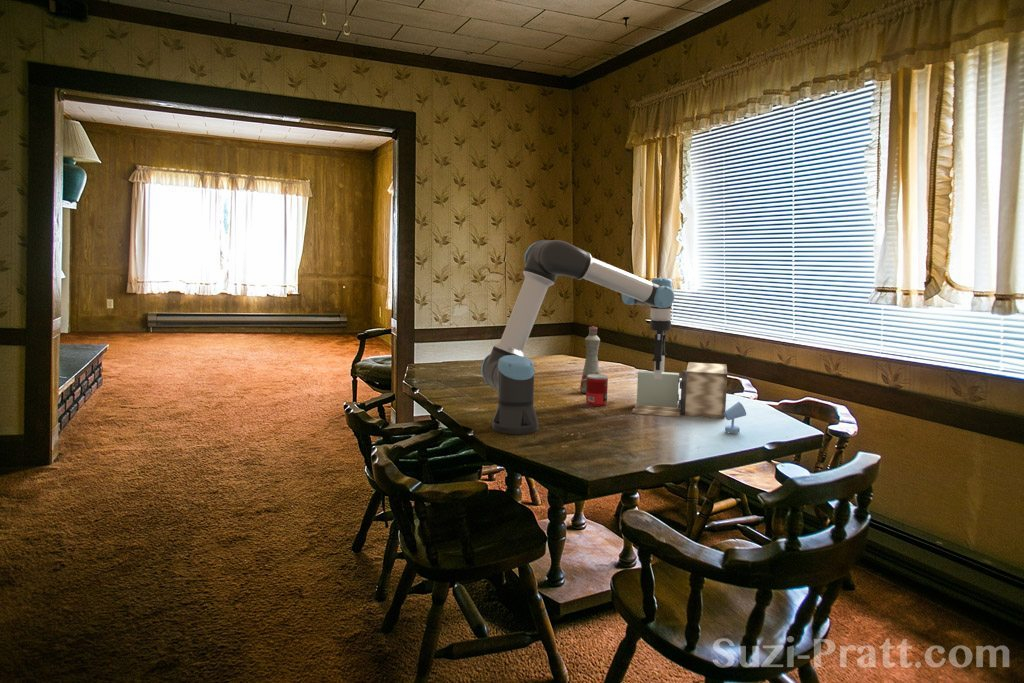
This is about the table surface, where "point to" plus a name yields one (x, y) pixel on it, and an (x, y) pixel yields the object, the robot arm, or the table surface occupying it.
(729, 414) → the spotlight
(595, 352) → the bottle
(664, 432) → the table surface
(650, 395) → the door
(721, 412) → the cabinet
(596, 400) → the canned food
